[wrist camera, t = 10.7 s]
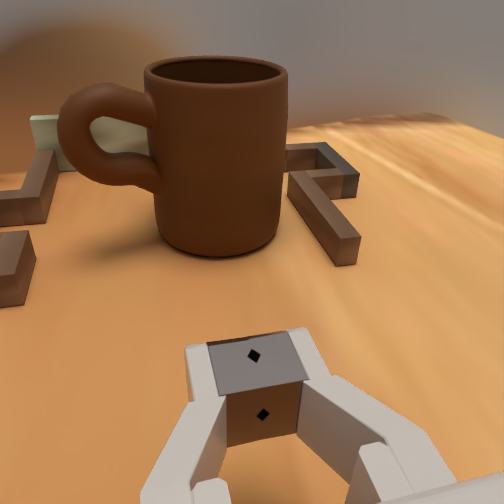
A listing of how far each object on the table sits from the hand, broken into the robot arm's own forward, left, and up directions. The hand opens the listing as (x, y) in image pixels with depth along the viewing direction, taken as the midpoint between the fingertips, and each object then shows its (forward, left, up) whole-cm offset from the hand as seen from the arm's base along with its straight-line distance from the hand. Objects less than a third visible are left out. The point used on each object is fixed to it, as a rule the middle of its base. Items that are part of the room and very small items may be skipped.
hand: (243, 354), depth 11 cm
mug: (0, +16, -6) cm, 17 cm away
